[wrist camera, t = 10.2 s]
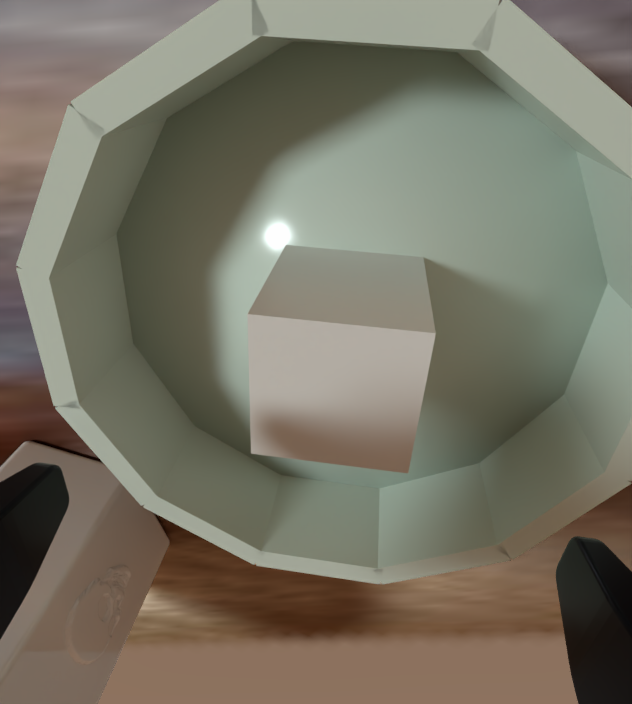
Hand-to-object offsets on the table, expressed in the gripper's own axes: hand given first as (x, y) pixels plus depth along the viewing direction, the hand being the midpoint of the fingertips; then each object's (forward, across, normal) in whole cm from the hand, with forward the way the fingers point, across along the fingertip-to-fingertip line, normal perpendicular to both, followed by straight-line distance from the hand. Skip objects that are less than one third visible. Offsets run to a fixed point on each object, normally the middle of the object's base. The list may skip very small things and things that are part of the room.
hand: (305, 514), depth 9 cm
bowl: (+8, 0, 0) cm, 8 cm away
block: (+8, 0, 0) cm, 8 cm away
